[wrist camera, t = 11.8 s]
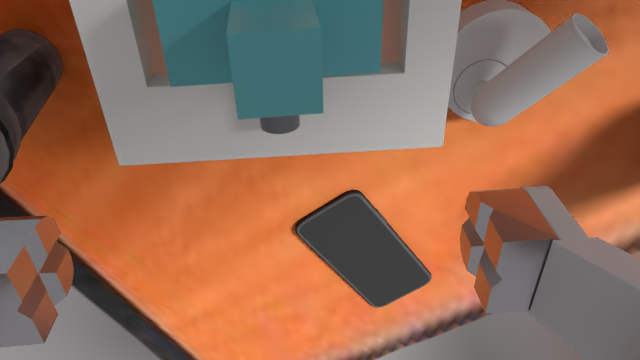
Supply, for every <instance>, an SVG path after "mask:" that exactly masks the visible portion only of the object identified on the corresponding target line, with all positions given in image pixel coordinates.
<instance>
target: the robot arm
mask: <svg viewBox="0 0 640 360" xmlns="http://www.w3.org/2000/svg"><path fill="white" fill-rule="evenodd" d="M465 209H466V211H467V213H468V215H469V217H470V218H469V219H468V220H467V221H466V222H465V223H464V224H463V225H462V228H461V235H460V246H461V254H462V258H463V262H464V264H465V267H466V269H467V271H469V272H470V273H471V274H473V275H474V276H476V280H475V285H474V288H475V290H476V293H477V295H478V297H479V300H480V302H481V304H482V306H483V309H484V311H485V313H503V312H527V311H530V312H529V314H530V315H531V316H533V317H534V318H535V319H536V320H537V321H539V322H540V323H541V324H542V325H543V326H544V327H546V328H547V329H548V330H549V331H550V332H552V333H553V334H554V335H555V336H556V337H558V338H559V339H560V340H561V341H562V342H563V343H565V344H566V345H567V346H568V347H569V348H571V349H572V350H573V351H574V352H575V353H577V354H578V355H579V356H580V357H581V358H582V359H584V360H640V259H639V258H637V257H635V256H633V255H631V254H629V253H627V252H625V251H623V250H621V249H619V248H617V247H615V246H613V245H611V244H609V243H607V242H605V241H603V240H601V239H599V238H597V237H596V238H589V237H588V236H587V234H586V233H585V232H584V230H583V229H582V228H581V227H580V225H579V224H578V223H577V221H576V220H575V219H574V218H573V216H572V215H571V214H570V212H569V211H568V210H567V209H566V207H565V206H564V205H563V203H562V202H561V201H560V200H559V198H558V197H557V196H556V194H555V193H554V192H553V190H552V189H551V188H549V187H547V186H545V185H543V186H532V187H520V188H518V189H502V190H486V191H470V193H469V195H468V197H467V200H466V205H465ZM59 234H60V230H59V228H58V226H57V224H56V222H55V220H54V219H53V218H51V217H48V216H32V217H6V218H0V347H8V346H19V345H30V344H40V343H45V341H46V339H47V337H48V335H49V333H50V331H51V328H52V326H53V324H54V322H55V320H56V318H57V316H58V313H57V311H56V309H55V307H54V306H55V305H56V304H57V303H59V302H60V301H61V300H62V299H64V298H65V297H66V296H67V294H68V292H69V290H70V288H71V285H72V279H73V271H74V269H73V263H72V258H71V256H70V253H69V251H68V249H67V248H65V247H64V246H62V245H61V244H60V243H58V242H57V239H58V236H59Z"/></svg>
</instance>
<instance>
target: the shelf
mask: <svg viewBox="0 0 640 360" xmlns="http://www.w3.org/2000/svg"><path fill="white" fill-rule="evenodd" d="M69 2H70V5H71V8H72V12H73V15H74V18H75V22H76V25H77V28H78V32H79V35H80V38H81V41H82V45H83V48H84V51H85V55H86V58H87V61H88V64H89V68H90V71H91V74H92V78H93V81H94V84H95V88H96V91H97V94H98V97H99V101H100V104H101V107H102V111H103V114H104V117H105V120H106V124H107V127H108V130H109V134H110V137H111V140H112V144H113V147H114V150H115V153H116V157H117V160H118V163H119V166H128V165H145V164H161V163H178V162H195V161H211V160H228V159H244V158H261V157H277V156H294V155H311V154H327V153H344V152H360V151H377V150H394V149H410V148H427V147H443V141H444V133H445V126H446V118H447V110H448V103H449V95H450V87H451V80H452V72H453V64H454V57H455V49H456V42H457V34H458V26H459V19H460V11H461V3H462V0H383V23H382V45H381V67H380V73H367V74H353V75H338V76H324V77H323V112H324V113H319V114H306V115H293V116H279V117H266V118H252V119H239V120H238V117H237V110H236V102H235V95H234V87H233V83H222V84H207V85H192V86H178V87H170V82H169V77H168V73H167V68H166V63H165V58H164V54H163V49H162V44H161V40H160V35H159V30H158V25H157V21H156V16H155V11H154V6H153V2H152V0H69Z"/></svg>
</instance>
